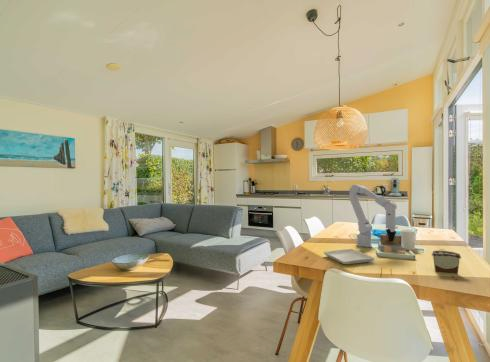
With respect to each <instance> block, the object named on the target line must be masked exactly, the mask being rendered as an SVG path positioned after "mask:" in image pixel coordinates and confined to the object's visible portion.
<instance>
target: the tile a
mask: <svg viewBox="0 0 490 362" xmlns="http://www.w3.org/2000/svg"><path fill="white" fill-rule="evenodd" d="M384 253H391V246H384Z"/></svg>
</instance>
